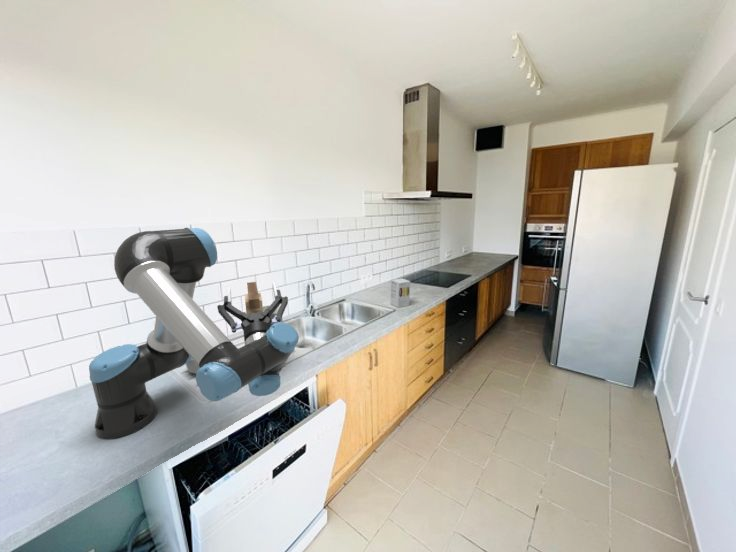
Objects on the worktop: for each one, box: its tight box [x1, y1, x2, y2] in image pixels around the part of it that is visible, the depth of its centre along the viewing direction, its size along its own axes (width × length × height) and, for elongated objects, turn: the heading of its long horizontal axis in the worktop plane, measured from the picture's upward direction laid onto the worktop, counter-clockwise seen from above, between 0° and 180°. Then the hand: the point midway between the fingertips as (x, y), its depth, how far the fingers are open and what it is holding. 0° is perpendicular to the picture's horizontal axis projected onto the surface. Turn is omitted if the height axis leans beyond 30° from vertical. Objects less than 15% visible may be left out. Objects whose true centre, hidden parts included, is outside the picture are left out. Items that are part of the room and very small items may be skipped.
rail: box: [246, 281, 260, 309], centre depth 116 cm, size 4×24×4 cm, turn 23°
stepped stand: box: [244, 292, 287, 368], centre depth 123 cm, size 13×10×30 cm
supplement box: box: [389, 278, 411, 308], centre depth 197 cm, size 10×9×17 cm
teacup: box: [185, 359, 200, 375], centre depth 122 cm, size 14×11×8 cm
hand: (251, 286), depth 97 cm, fingers open, 13 cm apart
